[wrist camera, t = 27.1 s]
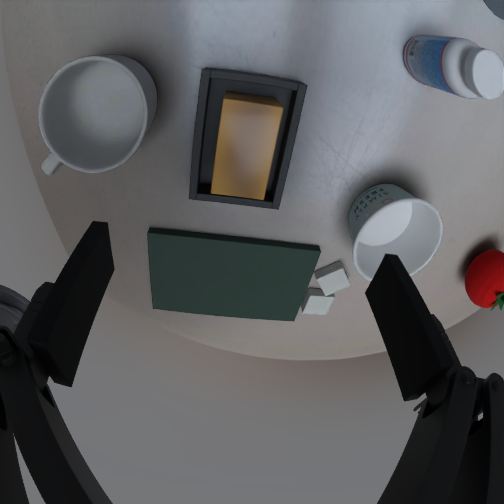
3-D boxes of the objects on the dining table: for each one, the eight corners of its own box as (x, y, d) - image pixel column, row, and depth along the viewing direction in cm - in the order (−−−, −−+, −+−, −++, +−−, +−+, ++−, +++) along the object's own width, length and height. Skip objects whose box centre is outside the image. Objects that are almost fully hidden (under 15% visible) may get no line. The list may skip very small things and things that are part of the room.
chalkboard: (154, 303, 45) (153, 308, 44) (149, 227, 37) (147, 232, 36) (293, 315, 48) (294, 321, 47) (319, 246, 39) (321, 251, 38)
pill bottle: (420, 93, 27) (483, 120, 18) (392, 50, 24) (455, 60, 15) (452, 68, 24) (518, 89, 15) (426, 26, 21) (493, 31, 12)
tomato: (467, 239, 40) (499, 281, 32) (504, 236, 40) (534, 273, 32) (448, 286, 46) (472, 327, 38) (484, 279, 46) (509, 316, 38)
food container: (381, 154, 32) (407, 178, 26) (433, 206, 36) (457, 233, 31) (319, 226, 37) (331, 259, 32) (377, 264, 42) (393, 295, 37)
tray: (192, 186, 33) (188, 199, 31) (205, 67, 25) (201, 69, 23) (275, 196, 35) (278, 209, 32) (301, 81, 27) (307, 85, 24)
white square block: (323, 288, 44) (325, 296, 43) (314, 271, 42) (316, 279, 41) (347, 278, 43) (350, 285, 42) (340, 260, 41) (343, 267, 40)
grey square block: (300, 305, 46) (302, 313, 45) (308, 287, 44) (310, 295, 43) (324, 307, 47) (326, 314, 46) (332, 289, 45) (335, 297, 43)
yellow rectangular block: (214, 171, 32) (210, 193, 28) (226, 90, 26) (223, 98, 22) (260, 177, 33) (263, 200, 28) (276, 98, 27) (283, 107, 23)
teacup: (138, 33, 22) (107, 30, 16) (185, 117, 28) (169, 138, 22) (44, 105, 25) (3, 126, 19) (88, 175, 32) (57, 209, 25)
